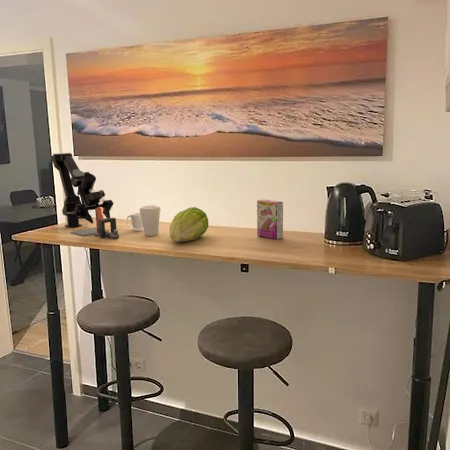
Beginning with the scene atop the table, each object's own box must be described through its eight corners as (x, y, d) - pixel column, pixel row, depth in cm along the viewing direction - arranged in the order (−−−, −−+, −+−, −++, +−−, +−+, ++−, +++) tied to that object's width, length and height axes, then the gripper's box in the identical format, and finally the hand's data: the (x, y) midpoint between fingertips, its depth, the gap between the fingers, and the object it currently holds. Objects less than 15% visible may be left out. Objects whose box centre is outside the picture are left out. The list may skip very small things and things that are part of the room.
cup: (140, 232, 233) (139, 215, 231) (123, 230, 237) (122, 214, 235) (148, 229, 239) (147, 213, 237) (131, 227, 243) (130, 212, 241)
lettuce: (152, 230, 205) (178, 214, 198) (178, 212, 226) (202, 198, 219) (170, 258, 207) (196, 244, 199) (194, 238, 228) (219, 224, 221)
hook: (91, 235, 229) (89, 207, 226) (103, 232, 233) (101, 206, 230) (111, 240, 217) (109, 211, 214) (123, 238, 221) (121, 209, 218)
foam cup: (148, 237, 221) (146, 209, 218) (137, 234, 228) (135, 207, 225) (165, 234, 227) (164, 206, 224) (154, 231, 234) (153, 204, 231)
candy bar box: (256, 236, 218) (256, 200, 214) (263, 234, 221) (263, 199, 218) (276, 240, 210) (276, 202, 207) (283, 238, 214) (283, 201, 210)
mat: (70, 232, 235) (70, 231, 235) (96, 227, 245) (96, 227, 245) (83, 236, 227) (83, 235, 227) (109, 231, 236) (109, 230, 236)
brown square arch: (99, 237, 222) (98, 219, 221) (114, 235, 228) (112, 217, 226) (102, 238, 221) (101, 220, 219) (116, 235, 226) (115, 218, 224)
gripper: (74, 187, 220) (88, 213, 215) (109, 183, 233) (124, 208, 228) (67, 202, 227) (81, 228, 222) (102, 197, 240) (116, 222, 235)
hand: (101, 221), depth 226 cm, fingers open, 9 cm apart
